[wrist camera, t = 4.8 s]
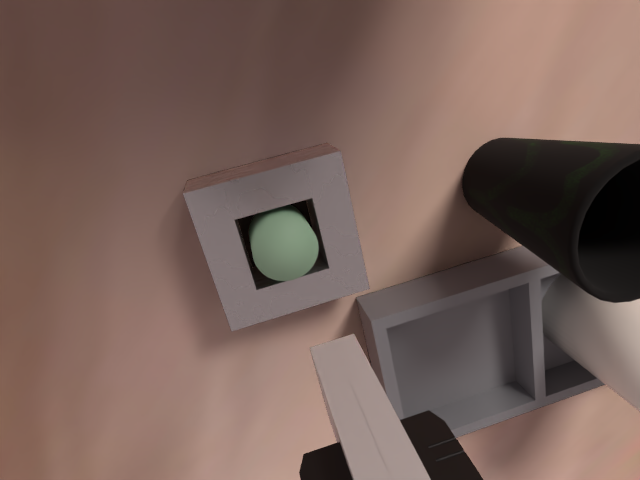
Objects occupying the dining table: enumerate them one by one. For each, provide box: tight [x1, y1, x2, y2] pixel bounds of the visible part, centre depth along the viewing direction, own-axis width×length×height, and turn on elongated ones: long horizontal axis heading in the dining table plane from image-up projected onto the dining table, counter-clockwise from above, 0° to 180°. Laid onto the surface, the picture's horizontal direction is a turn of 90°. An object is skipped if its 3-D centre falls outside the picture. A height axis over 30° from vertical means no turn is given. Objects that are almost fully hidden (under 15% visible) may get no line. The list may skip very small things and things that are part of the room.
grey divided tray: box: [356, 246, 605, 438], centre depth 35 cm, size 12×24×4 cm, turn 104°
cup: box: [462, 138, 640, 303], centre depth 27 cm, size 8×8×12 cm
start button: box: [249, 204, 319, 281], centre depth 27 cm, size 4×4×4 cm
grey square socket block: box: [183, 143, 370, 331], centre depth 28 cm, size 9×9×4 cm
